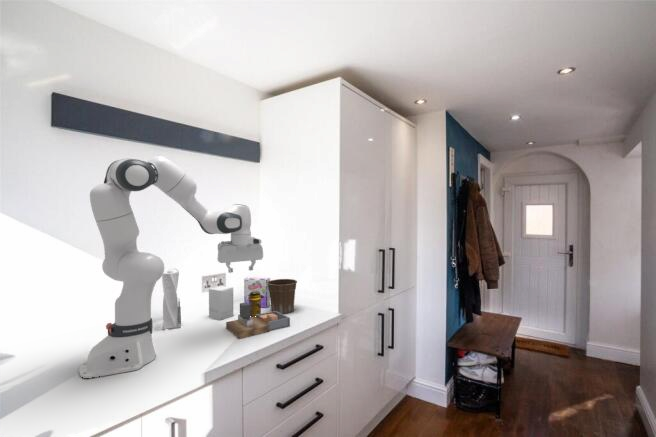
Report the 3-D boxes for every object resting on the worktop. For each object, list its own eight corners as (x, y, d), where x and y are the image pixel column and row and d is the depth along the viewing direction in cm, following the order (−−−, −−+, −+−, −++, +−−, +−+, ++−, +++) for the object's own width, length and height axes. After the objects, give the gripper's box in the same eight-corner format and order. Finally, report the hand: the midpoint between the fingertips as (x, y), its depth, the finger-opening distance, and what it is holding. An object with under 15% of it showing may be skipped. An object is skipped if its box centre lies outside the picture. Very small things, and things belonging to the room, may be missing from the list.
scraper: (246, 327, 140) (246, 307, 140) (237, 321, 149) (237, 301, 149) (253, 326, 142) (253, 306, 142) (243, 320, 151) (243, 300, 151)
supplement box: (234, 315, 167) (234, 287, 167) (220, 320, 160) (220, 290, 160) (222, 313, 172) (222, 285, 172) (208, 317, 164) (208, 288, 164)
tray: (268, 331, 144) (268, 322, 144) (255, 323, 156) (255, 314, 156) (289, 326, 151) (289, 317, 151) (275, 318, 162) (275, 310, 162)
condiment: (263, 316, 167) (263, 293, 167) (247, 318, 162) (247, 295, 162) (258, 312, 173) (258, 290, 173) (243, 315, 168) (242, 292, 168)
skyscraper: (180, 329, 148) (180, 268, 148) (160, 331, 144) (160, 269, 144) (181, 323, 155) (181, 265, 155) (162, 325, 152) (162, 266, 152)
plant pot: (267, 316, 166) (267, 285, 166) (266, 308, 182) (266, 279, 182) (299, 314, 170) (299, 283, 170) (295, 306, 185) (295, 278, 185)
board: (239, 338, 135) (239, 331, 135) (226, 328, 148) (226, 321, 148) (269, 331, 144) (269, 325, 144) (254, 322, 157) (254, 316, 157)
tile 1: (263, 324, 151) (263, 318, 151) (258, 321, 155) (258, 315, 155) (273, 322, 154) (272, 316, 154) (268, 319, 158) (268, 313, 158)
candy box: (243, 307, 183) (243, 278, 183) (248, 304, 189) (248, 276, 189) (266, 308, 181) (266, 279, 181) (270, 305, 187) (270, 277, 187)
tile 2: (271, 317, 147) (277, 315, 149) (266, 314, 151) (272, 313, 153) (271, 328, 147) (277, 326, 149) (267, 325, 151) (272, 323, 153)
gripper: (220, 242, 135) (220, 274, 135) (264, 239, 147) (264, 270, 148) (215, 241, 140) (215, 272, 140) (258, 239, 153) (258, 268, 153)
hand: (241, 271), depth 144 cm, fingers open, 8 cm apart
